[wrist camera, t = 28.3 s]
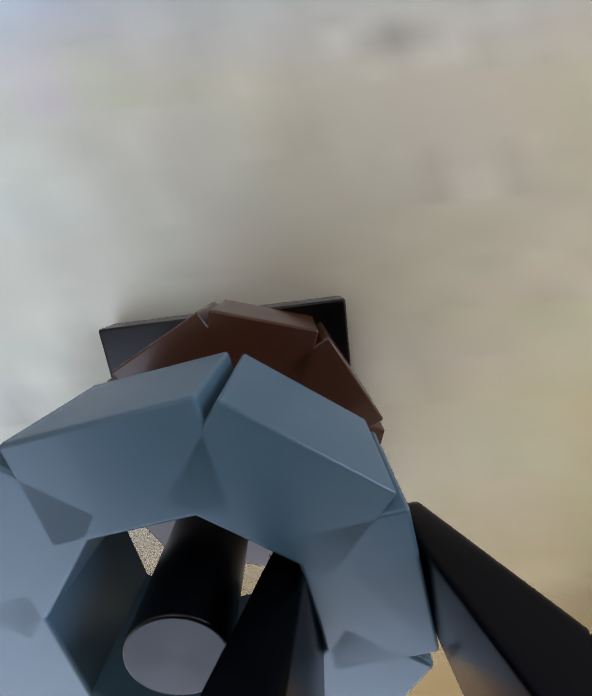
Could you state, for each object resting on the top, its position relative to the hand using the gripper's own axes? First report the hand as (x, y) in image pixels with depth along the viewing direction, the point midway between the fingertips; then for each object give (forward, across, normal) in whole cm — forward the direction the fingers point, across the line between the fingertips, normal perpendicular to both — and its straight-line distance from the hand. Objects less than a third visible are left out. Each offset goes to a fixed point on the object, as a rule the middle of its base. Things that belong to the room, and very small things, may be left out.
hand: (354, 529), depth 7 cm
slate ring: (+1, +3, 0) cm, 3 cm away
